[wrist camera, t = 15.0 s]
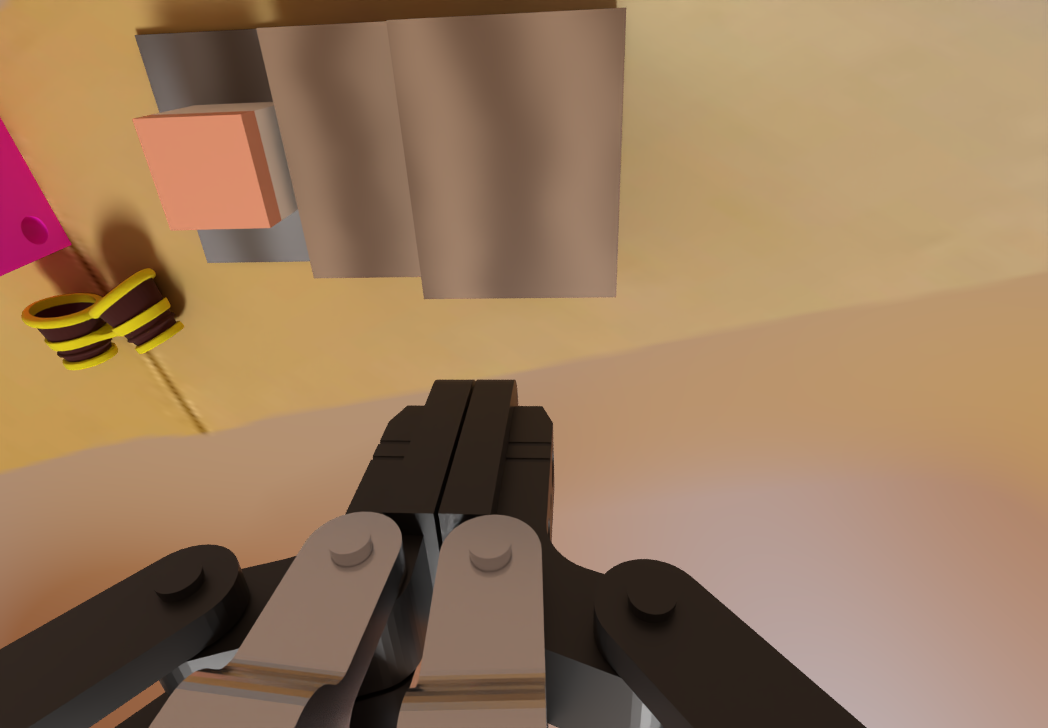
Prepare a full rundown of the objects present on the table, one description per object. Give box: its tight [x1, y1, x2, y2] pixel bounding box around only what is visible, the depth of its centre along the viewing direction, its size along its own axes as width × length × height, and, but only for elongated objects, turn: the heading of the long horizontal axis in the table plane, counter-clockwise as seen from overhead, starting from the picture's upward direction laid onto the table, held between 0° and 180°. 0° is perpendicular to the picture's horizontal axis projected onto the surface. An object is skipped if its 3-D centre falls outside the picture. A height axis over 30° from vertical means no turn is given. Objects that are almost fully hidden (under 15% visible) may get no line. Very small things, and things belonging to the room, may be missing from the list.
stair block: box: [135, 8, 626, 299], centre depth 34 cm, size 28×14×7 cm, turn 93°
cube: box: [132, 102, 298, 230], centre depth 35 cm, size 6×6×6 cm
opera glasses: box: [22, 268, 184, 370], centre depth 43 cm, size 10×5×5 cm, turn 107°
